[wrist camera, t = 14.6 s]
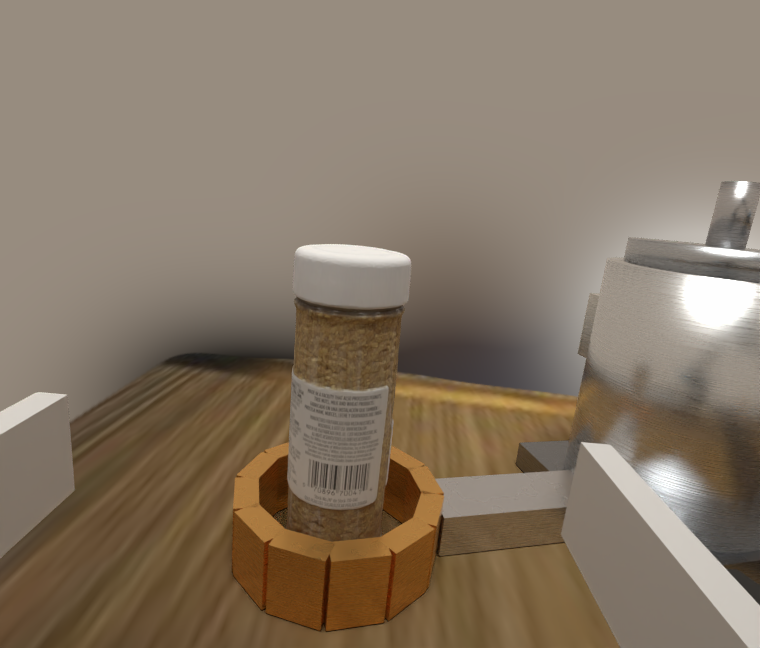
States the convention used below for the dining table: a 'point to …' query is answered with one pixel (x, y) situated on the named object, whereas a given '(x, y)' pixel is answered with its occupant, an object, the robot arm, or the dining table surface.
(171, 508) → the dining table surface
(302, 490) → the sprinkles bottle
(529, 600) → the dining table surface
